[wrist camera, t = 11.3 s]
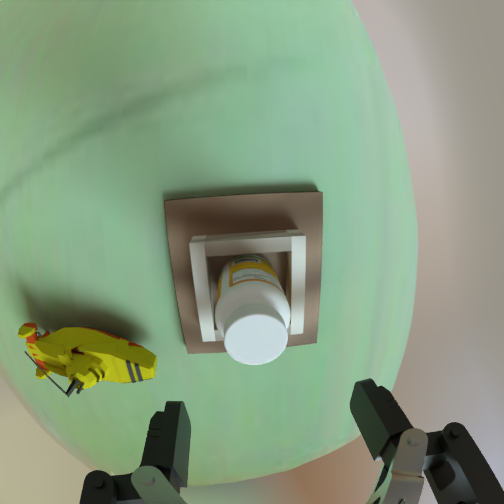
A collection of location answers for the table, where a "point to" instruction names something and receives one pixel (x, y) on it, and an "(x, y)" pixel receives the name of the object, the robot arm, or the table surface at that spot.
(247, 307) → the supplement bottle
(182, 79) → the table surface
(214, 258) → the jig board
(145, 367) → the toy boat
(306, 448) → the table surface
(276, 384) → the table surface
